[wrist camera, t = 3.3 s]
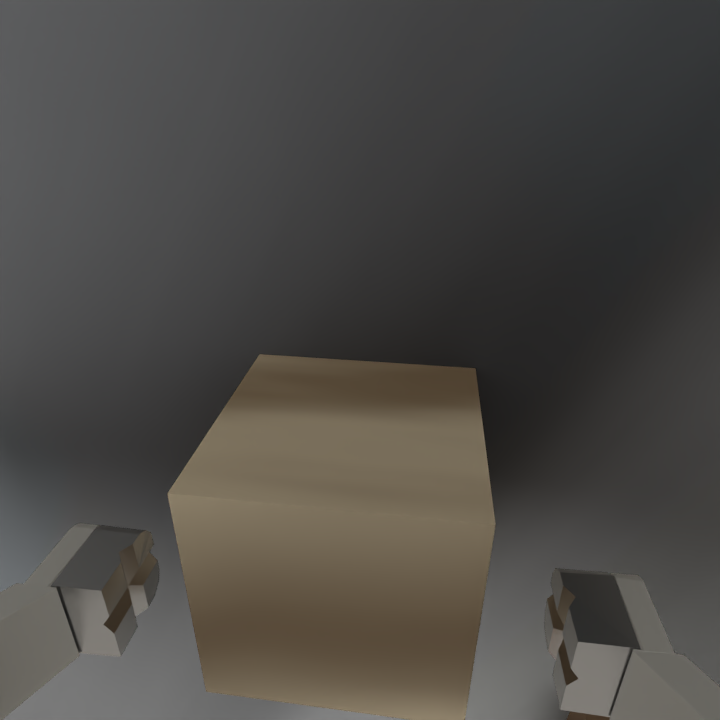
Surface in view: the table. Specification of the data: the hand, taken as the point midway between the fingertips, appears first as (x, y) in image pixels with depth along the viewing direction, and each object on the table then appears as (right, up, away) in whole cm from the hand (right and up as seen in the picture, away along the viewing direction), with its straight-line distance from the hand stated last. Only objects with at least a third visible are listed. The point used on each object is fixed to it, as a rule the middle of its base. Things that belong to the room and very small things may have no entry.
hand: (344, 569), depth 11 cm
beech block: (0, +2, +3) cm, 3 cm away
